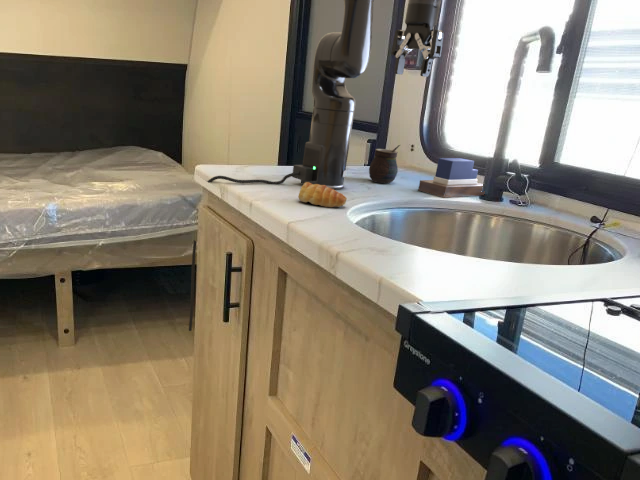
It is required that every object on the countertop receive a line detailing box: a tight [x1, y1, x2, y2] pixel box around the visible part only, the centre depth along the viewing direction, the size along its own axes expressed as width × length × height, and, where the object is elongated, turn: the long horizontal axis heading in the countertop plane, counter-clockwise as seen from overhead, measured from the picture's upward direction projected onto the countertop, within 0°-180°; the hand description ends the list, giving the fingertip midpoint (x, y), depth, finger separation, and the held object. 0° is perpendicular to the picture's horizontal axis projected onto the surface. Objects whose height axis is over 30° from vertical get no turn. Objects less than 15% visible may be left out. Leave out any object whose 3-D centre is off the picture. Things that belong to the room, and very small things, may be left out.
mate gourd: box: [368, 144, 401, 184], centre depth 152 cm, size 7×8×10 cm
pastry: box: [297, 182, 348, 208], centre depth 121 cm, size 9×7×4 cm
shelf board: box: [417, 179, 485, 198], centre depth 147 cm, size 16×8×2 cm, turn 122°
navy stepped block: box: [432, 157, 479, 185], centre depth 146 cm, size 11×4×6 cm, turn 122°
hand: (411, 75), depth 150 cm, fingers open, 8 cm apart
